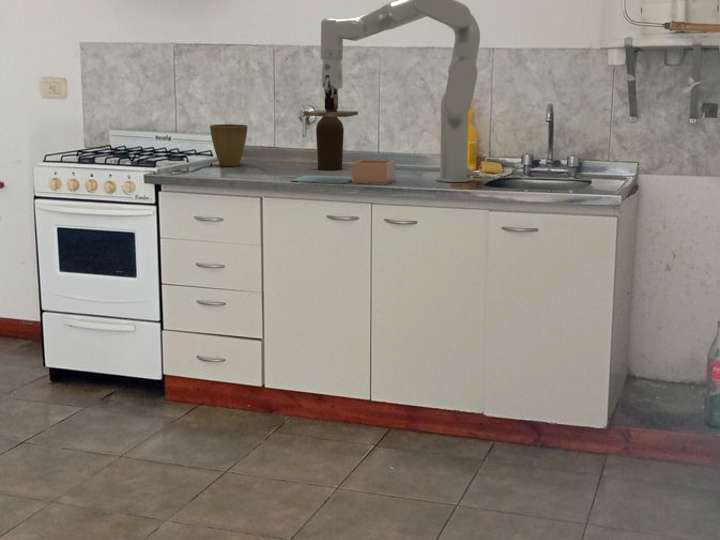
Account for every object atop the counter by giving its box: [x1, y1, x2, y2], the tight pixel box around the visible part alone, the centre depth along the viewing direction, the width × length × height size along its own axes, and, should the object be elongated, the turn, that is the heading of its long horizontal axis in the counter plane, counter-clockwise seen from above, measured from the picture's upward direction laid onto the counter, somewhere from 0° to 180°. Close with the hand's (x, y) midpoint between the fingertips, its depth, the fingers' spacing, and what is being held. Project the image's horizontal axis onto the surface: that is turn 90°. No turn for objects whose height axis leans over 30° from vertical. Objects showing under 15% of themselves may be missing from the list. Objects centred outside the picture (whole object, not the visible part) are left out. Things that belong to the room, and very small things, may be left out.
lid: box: [303, 94, 359, 118], centre depth 365 cm, size 15×15×7 cm
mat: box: [290, 175, 353, 184], centre depth 371 cm, size 20×16×1 cm
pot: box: [352, 159, 396, 185], centre depth 365 cm, size 12×12×7 cm
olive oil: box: [315, 116, 345, 171], centre depth 404 cm, size 11×11×25 cm
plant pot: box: [209, 123, 249, 167], centre depth 417 cm, size 15×15×16 cm
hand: (331, 108), depth 365 cm, fingers closed on lid, 4 cm apart
